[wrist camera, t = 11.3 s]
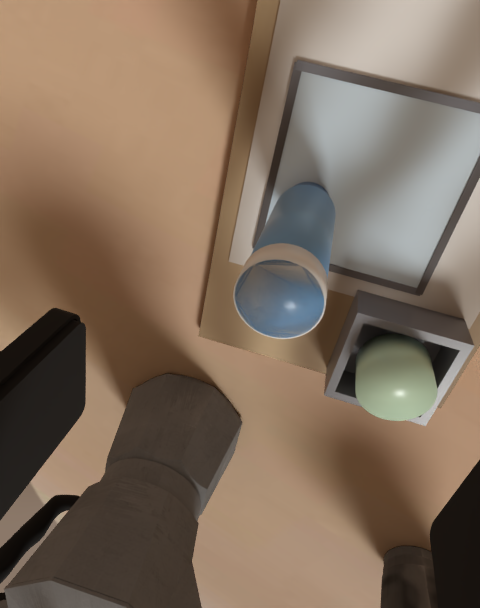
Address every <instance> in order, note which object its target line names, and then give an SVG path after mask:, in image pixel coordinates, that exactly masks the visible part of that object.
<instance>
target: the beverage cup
mask: <svg viewBox="0 0 480 608" xmlns="http://www.w3.org/2000/svg"><path fill="white" fill-rule="evenodd" d="M381 608H438V601H437V593H436V584H435V576H434V567H433V559H432V553H431V552H430V551H428V550H425V549H423V548H419V547H413V546H401V547H396V548H393V549H391V550H389V551H388V552H387V553H386V554H385V556H384V568H383V576H382V589H381Z"/></svg>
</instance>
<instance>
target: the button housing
mask: <svg viewBox="0 0 480 608" xmlns="http://www.w3.org/2000/svg"><path fill="white" fill-rule="evenodd" d="M384 334H402V335H406V336H409V337H412V338H414V339H416V340H417V341H419V342H420V343H421V344H423V345H424V346H425V348H426V349H427V350H428V352H429V355H430V358H431V362H432V367H433V371H434V376H435V380H436V385H437V398H436V401H435V403H434V404H433V406H432V407H431V408H430V409H429V410H428V411H427V412H425V413H424V414H422V415H421V416H418V417H416V418H413V419H409V420H407V421H411V422H414V423H417V424H420V425H424V426H426V424H427V423H428V421H429V420H430V418H431V416H432V415H433V413H434V411H435V410H436V408H437V406H438V405H439V403H440V401H441V400H442V398H443V397H444V395H445V393H446V392H447V390H448V388H449V387H450V385H451V383H452V382H453V380H454V379H455V377H456V375H457V374H458V372H459V370H460V369H461V367H462V365H463V364H464V362H465V361H466V359H467V357H468V356H469V354H470V352H471V351H472V349H473V347H474V343H473V340H472V338H471V335H470V332H469V330H468V327H467V324H466V321H465V319H462V318H458V317H454V316H451V315H447V314H444V313H440V312H437V311H433V310H429V309H426V308H422V307H419V306H415V305H411V304H408V303H404V302H401V301H397V300H394V299H390V298H386V297H383V296H379V295H376V294H372V293H368V292H365V291H361V290H357V293H356V295H355V297H354V299H353V302H352V304H351V307H350V310H349V312H348V315H347V317H346V320H345V322H344V325H343V327H342V330H341V332H340V335H339V338H338V340H337V343H336V345H335V348H334V350H333V353H332V355H331V358H330V361H329V363H328V366H327V369H326V379H325V390H324V395H325V396H328V397H331V398H334V399H338V400H341V401H344V402H348V403H351V404H354V405H358V406H361V405H360V403H359V401H358V400H357V397H356V392H355V380H356V356H357V353H358V351H359V350H360V348H361V347H362V346H363V345H364V344H365V343H366V342H367V341H369V340H370V339H372V338H374V337H377V336H380V335H384ZM361 407H362V406H361Z"/></svg>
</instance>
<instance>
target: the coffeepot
mask: <svg viewBox="0 0 480 608" xmlns="http://www.w3.org/2000/svg"><path fill="white" fill-rule="evenodd" d="M241 425H242V421H241V419H240V417H239V416H238V414H237V412H236V411H235V409H234V408H233V406H232V405H231V403H230V402H229V401H228V400H227V399H226V397H225V396H224V395H223V394H221V393H220V392H219V391H218V390H217V389H216V388H215V387H213V386H211V385H209V384H207V383H205V382H203V381H200V380H197V379H195V378H192V377H187V376H183V375H172V374H168V373H167V374H164V375H161V376H158V377H155V378H152V379H150V380H148V381H147V382H145V383H143V384H142V385H140V386H138V387H135V388H133V390H132V393H131V395H130V398H129V401H128V404H127V406H126V409H125V412H124V414H123V417H122V420H121V422H120V425H119V428H118V430H117V433H116V436H115V439H114V441H113V444H112V447H111V449H110V452H109V455H108V458H107V463H106V469H105V474H104V476H103V477H102V479H101V481H100V482H98V483H95V484H93V485H91V486H89V487H88V488H87V489H86V490H85V491H84V493H83V494H82V495H81V496H76V495H56V496H54V497H53V498H51V499H50V500H49V501H48V502H47V503H46V504H45V505H44V506H43V507H42V508H41V509H40V510H39V511H38V512H37V513H36V514H35V515H34V516H33V517H32V518H31V519H29V521H27V522H26V523H25V524H24V525H23V526H22V527H21V528H20V529H19V530H18V531H17V532H16V533H15V534H14V535H13V536H12V537H11V538H10V539H9V540H8V541H7V542H6V543H5V544H4V545H3V546H2V547H1V548H0V583H1V582H2V581H3V580H4V579H5V578H6V577H7V576H8V575H9V574H10V572H11V571H12V569H13V568H14V567H15V565H16V564H17V563H18V562H19V560H20V559H21V558H22V557H23V555H24V554H25V553H26V552H27V551H28V550H29V549H30V548H31V547H32V546H33V545H35V544H36V543H37V542H38V541H40V539H41V538H42V537H43V536H44V535H45V533H46V531H47V530H48V528H49V526H50V525H51V523H52V522H53V520H54V519H55V518H56V517H57V516H58V515H59V514H60V513H62V512H64V511H66V510H69V511H68V512H67V513H66V515H65V516H64V517H63V518H62V520H61V521H60V522H59V523H58V524H57V526H56V527H55V528H54V529H53V531H52V532H51V533H50V534H49V536H48V537H47V538H46V539H45V540H44V542H43V543H42V544H41V545H40V546H39V548H38V549H37V550H36V551H35V553H34V554H33V555H32V556H31V557H30V559H29V560H28V561H27V562H26V564H25V565H24V566H23V567H22V569H21V570H20V571H19V572H18V573H17V575H16V576H15V577H14V578H13V580H12V581H11V582H10V583H9V584H8V585H7V586H6V587H5V589H4V591H5V593H0V608H202V607H201V603H200V598H199V593H198V588H197V583H196V579H195V574H194V569H193V564H192V557H193V552H194V546H195V540H196V534H197V529H198V522H197V521H198V518H199V516H200V515H201V514H202V512H203V511H204V509H205V507H206V505H207V503H208V501H209V499H210V497H211V495H212V494H213V492H214V490H215V488H216V486H217V484H218V482H219V480H220V478H221V477H222V475H223V473H224V471H225V469H226V467H227V465H228V463H229V461H230V460H231V458H232V456H233V454H234V451H235V447H236V444H237V440H238V436H239V433H240V429H241Z"/></svg>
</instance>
